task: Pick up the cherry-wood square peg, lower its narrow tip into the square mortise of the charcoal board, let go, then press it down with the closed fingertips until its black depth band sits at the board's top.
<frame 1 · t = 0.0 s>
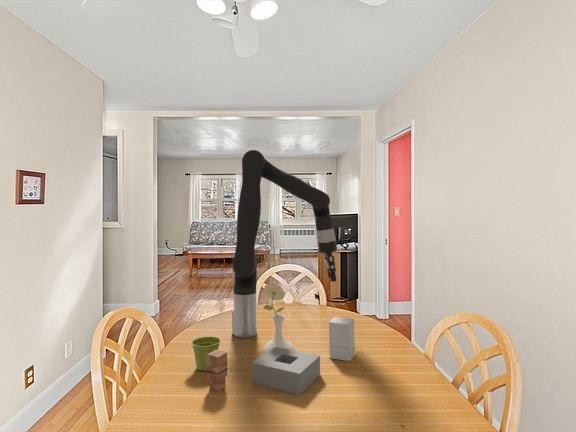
hand: (332, 279, 150), 22 cm above the table, tool pointing down, fingers open, 8 cm apart
mortise board: (286, 378, 110), on the table
plant pot: (206, 368, 119), on the table
flower in vase: (277, 354, 129), on the table
supplement box: (342, 356, 127), on the table
peg: (217, 387, 105), on the table
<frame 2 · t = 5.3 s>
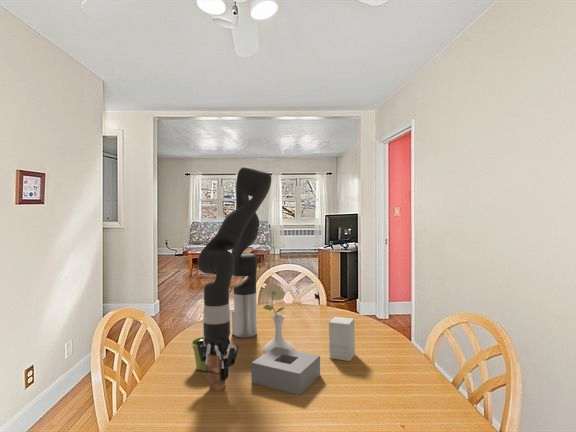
hand: (217, 378, 105), 3 cm above the table, tool pointing down, fingers closed on peg, 4 cm apart
peg: (217, 387, 105), on the table, touching gripper
everything else where it was.
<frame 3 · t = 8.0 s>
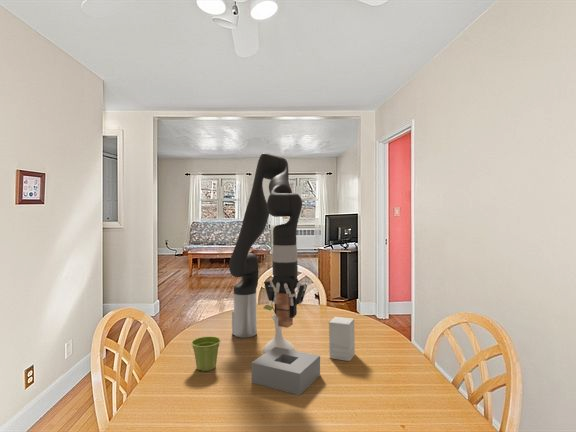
hand: (285, 316, 110), 19 cm above the table, tool pointing down, fingers closed on peg, 4 cm apart
peg: (285, 325, 110), point 16 cm above the table, touching gripper
everything else where it was.
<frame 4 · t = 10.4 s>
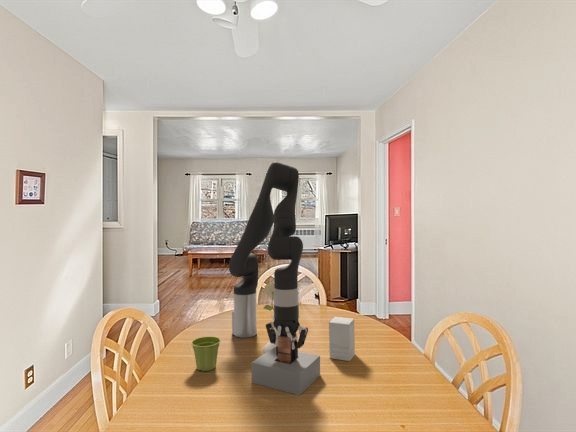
hand: (286, 358, 110), 6 cm above the table, tool pointing down, fingers closed on peg, 4 cm apart
peg: (286, 368, 110), point 3 cm above the table, touching gripper
everything else where it was.
when the fingers open (6 cm above the table, at t = 10.6 s): peg drops 2 cm, resting on mortise board.
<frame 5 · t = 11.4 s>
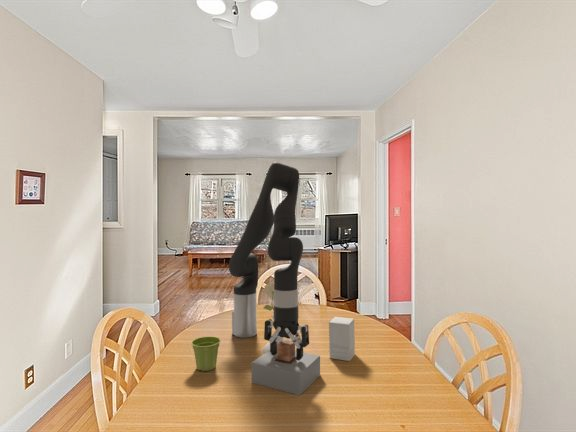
hand: (286, 357, 110), 7 cm above the table, tool pointing down, fingers open, 8 cm apart
peg: (286, 375, 110), point 1 cm above the table, touching mortise board
everything else where it was.
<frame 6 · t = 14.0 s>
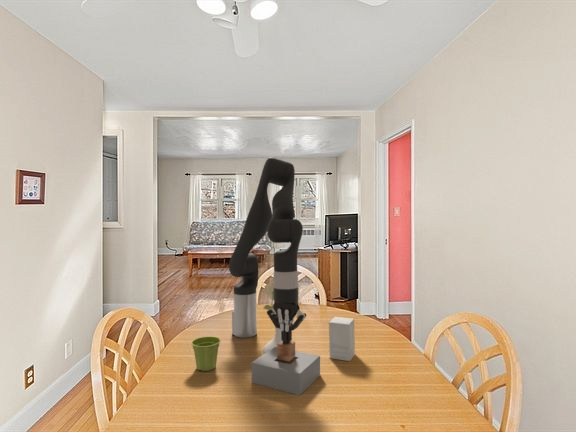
hand: (286, 342, 110), 11 cm above the table, tool pointing down, fingers closed
peg: (286, 375, 110), point 1 cm above the table, touching gripper, mortise board
everything else where it was.
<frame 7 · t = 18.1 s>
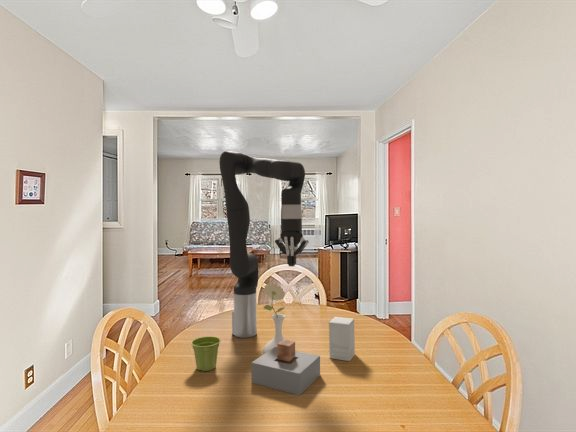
hand: (291, 266, 130), 31 cm above the table, tool pointing down, fingers closed
peg: (286, 375, 110), point 1 cm above the table, touching mortise board
everything else where it was.
at the end: peg 0.1 cm off-centre on the mortise board, point 1.0 cm above the mortise board's base; peg tilted 0°; the gripper is holding nothing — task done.
